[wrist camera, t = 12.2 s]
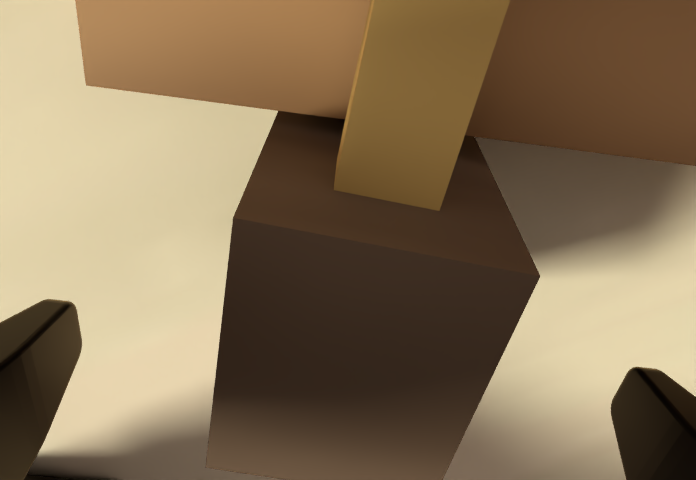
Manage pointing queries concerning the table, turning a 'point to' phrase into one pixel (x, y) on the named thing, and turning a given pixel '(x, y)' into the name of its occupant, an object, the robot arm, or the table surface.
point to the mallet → (372, 266)
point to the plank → (344, 46)
